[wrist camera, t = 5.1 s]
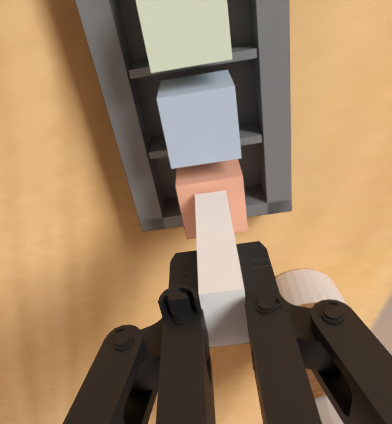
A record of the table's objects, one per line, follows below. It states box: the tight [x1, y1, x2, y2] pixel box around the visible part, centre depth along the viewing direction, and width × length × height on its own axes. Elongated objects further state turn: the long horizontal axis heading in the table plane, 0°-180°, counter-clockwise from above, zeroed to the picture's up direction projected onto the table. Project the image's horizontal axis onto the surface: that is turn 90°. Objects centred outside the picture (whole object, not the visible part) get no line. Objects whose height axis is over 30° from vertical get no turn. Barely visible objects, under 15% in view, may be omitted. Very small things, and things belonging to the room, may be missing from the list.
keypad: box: [75, 0, 292, 232], centre depth 18 cm, size 18×9×2 cm, turn 9°
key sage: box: [136, 0, 232, 73], centre depth 14 cm, size 3×3×3 cm
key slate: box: [156, 70, 242, 169], centre depth 17 cm, size 3×3×3 cm
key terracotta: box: [176, 159, 248, 239], centre depth 19 cm, size 3×3×3 cm
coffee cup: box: [275, 269, 347, 424], centre depth 23 cm, size 8×8×15 cm
